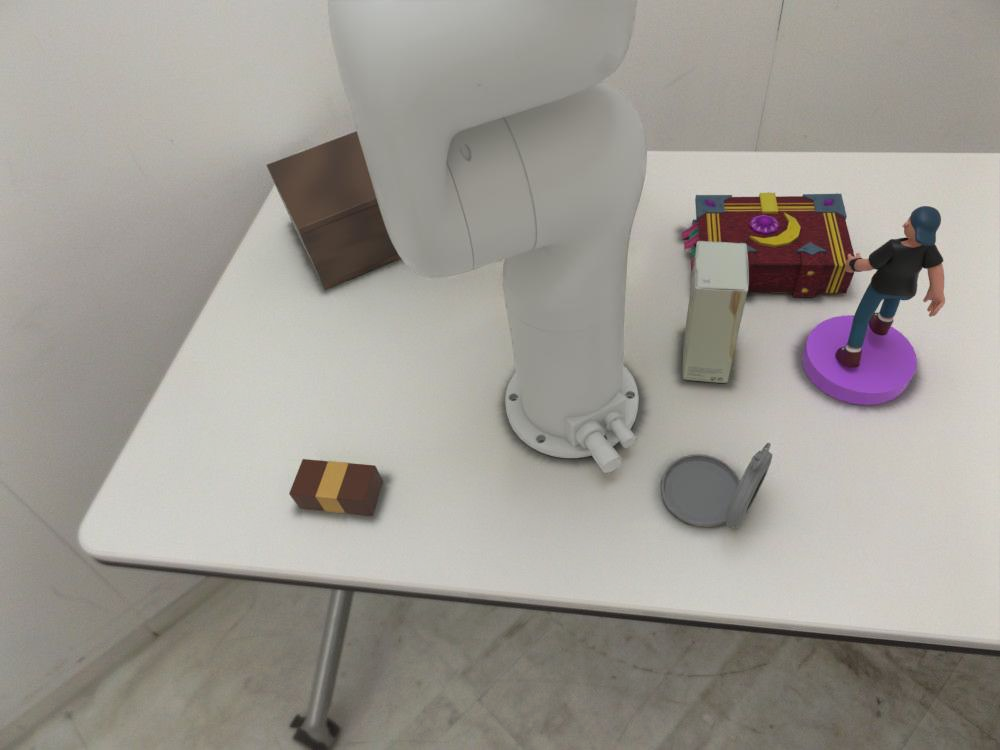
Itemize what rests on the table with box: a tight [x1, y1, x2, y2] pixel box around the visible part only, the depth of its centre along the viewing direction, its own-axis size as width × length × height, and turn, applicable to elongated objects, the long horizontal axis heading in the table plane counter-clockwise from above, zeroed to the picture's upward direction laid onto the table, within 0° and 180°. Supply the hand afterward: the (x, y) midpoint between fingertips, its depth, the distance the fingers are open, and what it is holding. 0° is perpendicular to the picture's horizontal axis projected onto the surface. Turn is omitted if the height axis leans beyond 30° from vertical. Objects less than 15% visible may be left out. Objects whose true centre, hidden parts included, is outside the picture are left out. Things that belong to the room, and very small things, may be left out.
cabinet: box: [266, 130, 401, 291], centre depth 82 cm, size 15×14×9 cm
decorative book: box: [681, 192, 856, 298], centre depth 73 cm, size 11×16×5 cm
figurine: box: [801, 205, 946, 406], centre depth 58 cm, size 9×9×18 cm
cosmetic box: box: [682, 241, 749, 384], centre depth 63 cm, size 6×4×12 cm
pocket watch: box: [660, 442, 773, 529], centre depth 54 cm, size 8×8×10 cm
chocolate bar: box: [288, 458, 384, 517], centre depth 62 cm, size 4×7×3 cm, turn 80°
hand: (449, 152), depth 83 cm, fingers closed
